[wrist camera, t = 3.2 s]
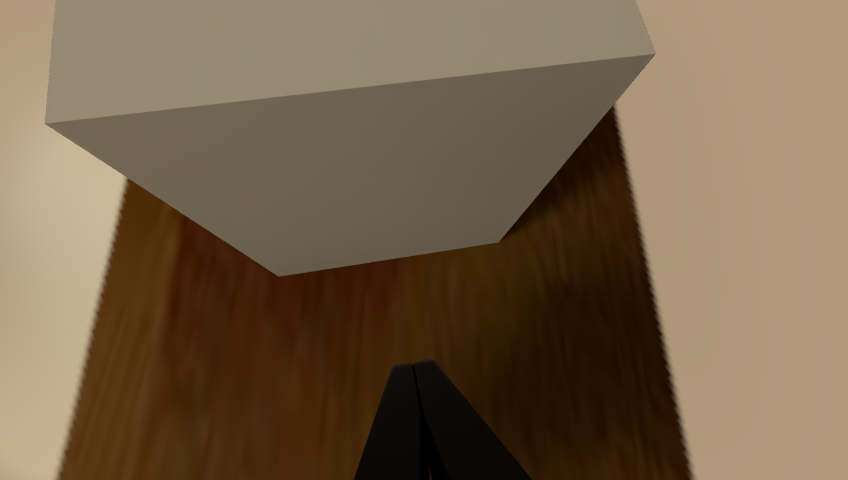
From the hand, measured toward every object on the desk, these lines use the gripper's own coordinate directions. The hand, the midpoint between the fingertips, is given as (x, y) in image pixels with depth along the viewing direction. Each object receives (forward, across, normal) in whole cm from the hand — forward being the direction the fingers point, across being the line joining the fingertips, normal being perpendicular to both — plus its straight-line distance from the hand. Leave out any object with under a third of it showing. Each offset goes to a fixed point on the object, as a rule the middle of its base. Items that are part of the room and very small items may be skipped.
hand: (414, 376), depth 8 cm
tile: (+9, 0, +1) cm, 9 cm away
